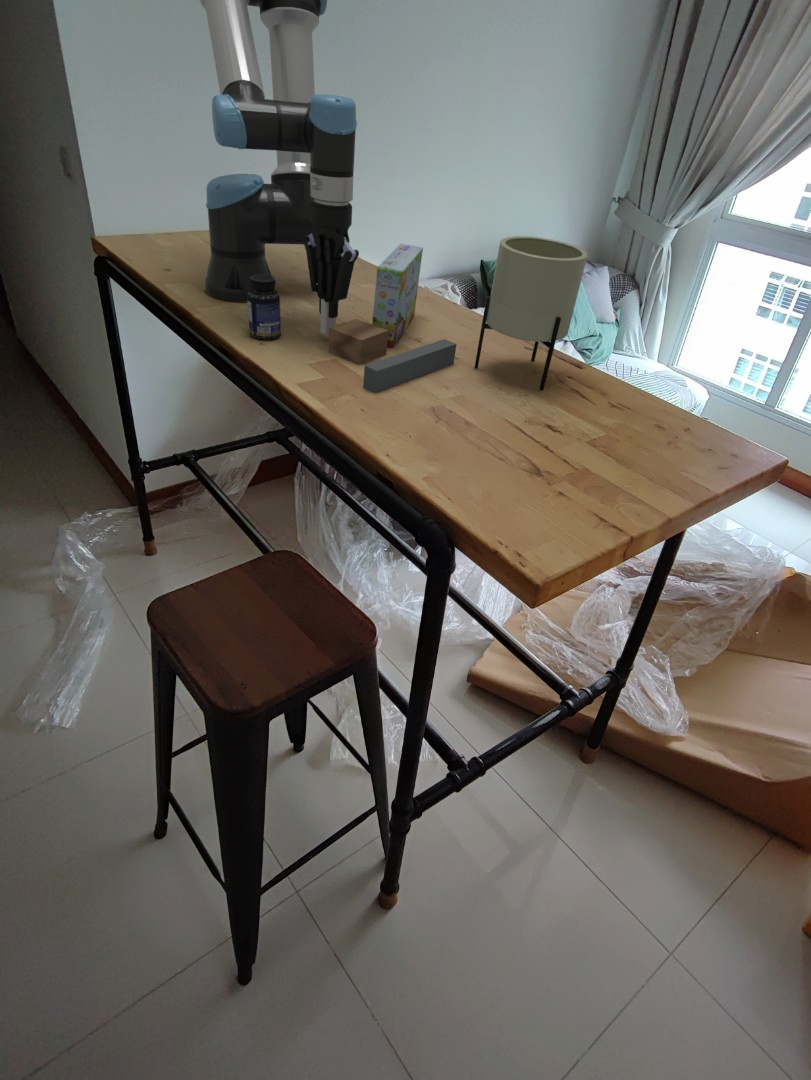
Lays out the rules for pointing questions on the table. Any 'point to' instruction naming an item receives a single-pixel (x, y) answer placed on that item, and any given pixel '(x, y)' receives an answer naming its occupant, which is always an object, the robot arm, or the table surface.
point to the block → (358, 341)
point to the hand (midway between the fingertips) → (328, 332)
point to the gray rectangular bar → (408, 365)
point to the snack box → (397, 291)
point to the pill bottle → (264, 308)
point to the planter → (534, 292)
